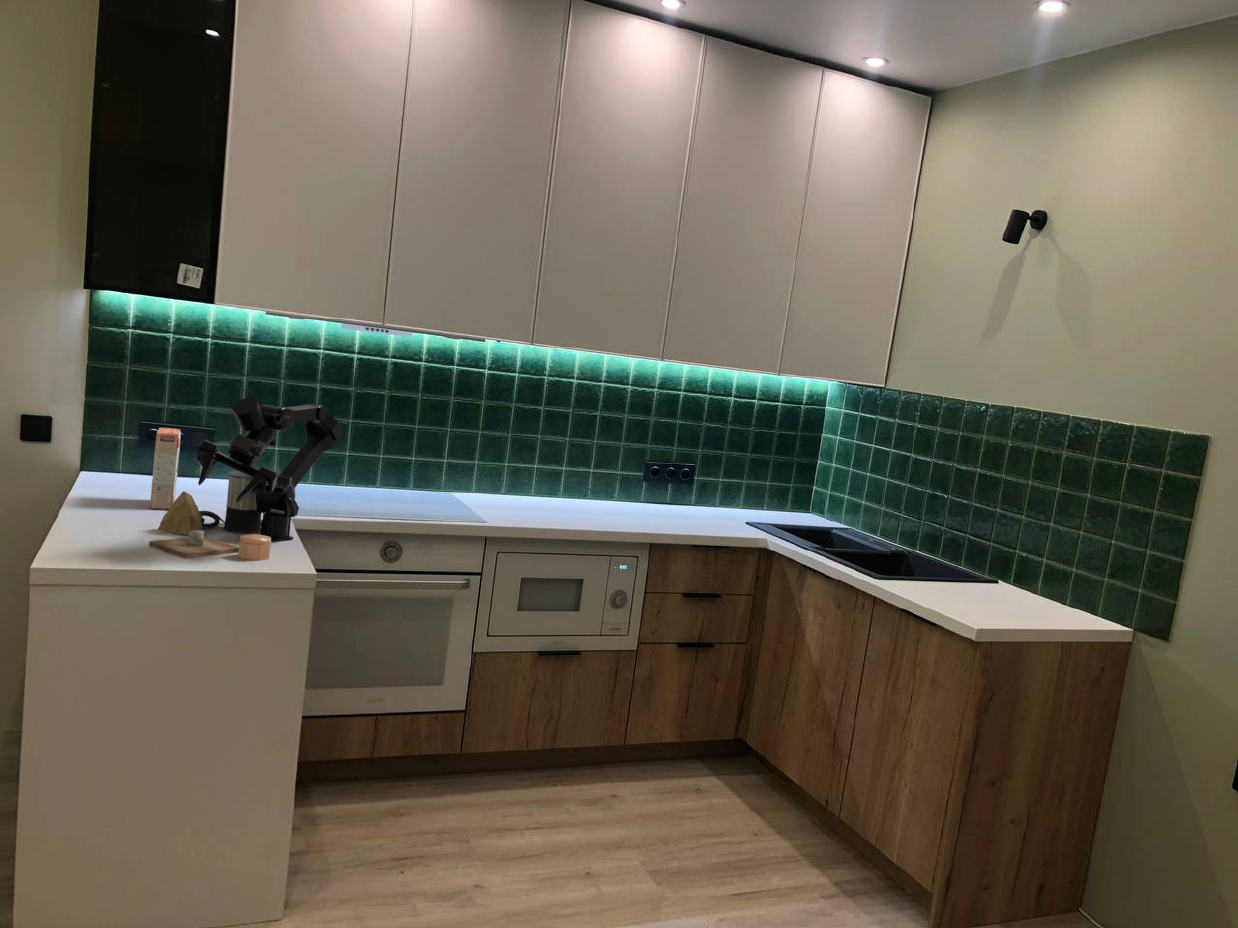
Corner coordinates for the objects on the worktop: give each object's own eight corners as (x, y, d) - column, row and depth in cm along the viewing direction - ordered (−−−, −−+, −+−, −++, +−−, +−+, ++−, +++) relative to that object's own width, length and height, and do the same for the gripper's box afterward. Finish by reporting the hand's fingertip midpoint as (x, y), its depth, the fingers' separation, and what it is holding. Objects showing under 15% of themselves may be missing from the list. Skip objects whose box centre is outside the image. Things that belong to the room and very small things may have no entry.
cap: (256, 552, 233) (258, 533, 233) (275, 558, 230) (277, 539, 229) (232, 554, 228) (234, 535, 227) (251, 561, 224) (252, 541, 224)
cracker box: (173, 510, 268) (179, 434, 266) (149, 509, 266) (155, 432, 264) (175, 501, 281) (181, 428, 279) (152, 500, 279) (158, 426, 277)
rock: (215, 527, 243) (204, 514, 251) (196, 501, 239) (186, 488, 246) (175, 553, 239) (165, 539, 247) (155, 527, 235) (145, 513, 242)
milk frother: (267, 533, 255) (272, 476, 253) (205, 535, 244) (210, 476, 242) (244, 522, 265) (248, 467, 263) (183, 524, 254) (188, 467, 252)
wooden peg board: (203, 539, 239) (204, 523, 238) (240, 551, 231) (241, 535, 231) (149, 545, 227) (150, 528, 226) (186, 558, 220) (187, 540, 219)
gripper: (217, 407, 229) (179, 454, 218) (292, 442, 230) (258, 490, 220) (215, 436, 237) (179, 482, 227) (288, 469, 239) (255, 517, 228)
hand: (218, 492), depth 225 cm, fingers open, 9 cm apart
